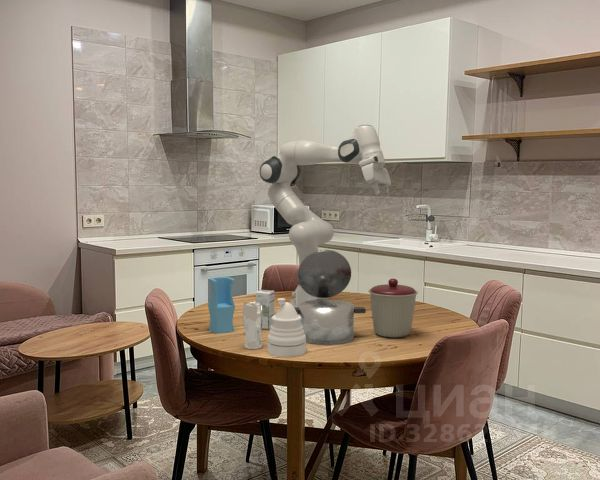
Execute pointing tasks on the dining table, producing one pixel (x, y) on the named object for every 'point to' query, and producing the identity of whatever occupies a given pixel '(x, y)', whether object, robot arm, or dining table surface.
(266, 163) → the robot arm
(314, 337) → the cooker pot
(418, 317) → the dining table surface
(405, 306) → the canister
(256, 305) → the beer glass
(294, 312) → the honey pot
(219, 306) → the blue toy chair
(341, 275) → the cooker lid
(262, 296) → the syrup box
